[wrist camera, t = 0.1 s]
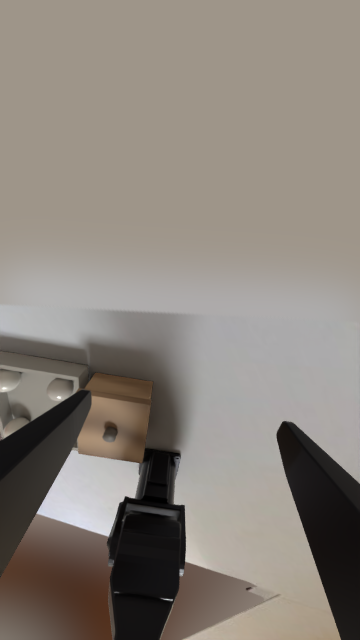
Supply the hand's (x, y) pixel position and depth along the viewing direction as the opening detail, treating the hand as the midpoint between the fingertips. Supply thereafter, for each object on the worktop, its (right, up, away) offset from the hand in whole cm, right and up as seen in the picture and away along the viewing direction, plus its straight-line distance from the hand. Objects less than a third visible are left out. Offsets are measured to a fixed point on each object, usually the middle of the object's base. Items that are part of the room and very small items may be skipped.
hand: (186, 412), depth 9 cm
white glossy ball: (-22, -3, +17) cm, 28 cm away
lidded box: (-9, -8, +20) cm, 23 cm away
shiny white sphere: (-16, -4, +17) cm, 24 cm away
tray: (-20, -7, +20) cm, 29 cm away
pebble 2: (-24, -11, +21) cm, 34 cm away
